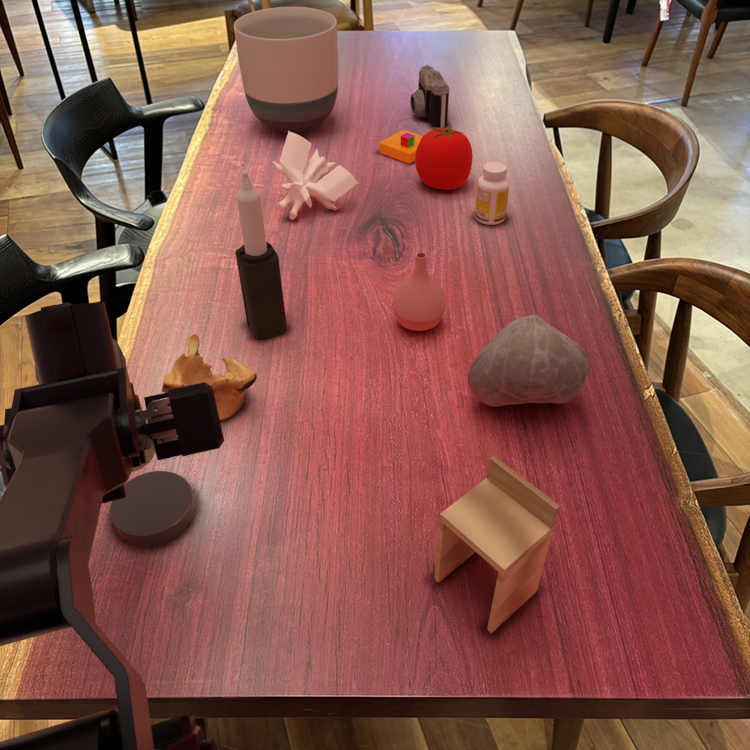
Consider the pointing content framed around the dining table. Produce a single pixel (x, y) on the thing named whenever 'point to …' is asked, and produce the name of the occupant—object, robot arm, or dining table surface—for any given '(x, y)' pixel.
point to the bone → (212, 379)
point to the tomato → (444, 158)
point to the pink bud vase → (419, 299)
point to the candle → (258, 268)
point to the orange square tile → (401, 146)
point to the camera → (431, 97)
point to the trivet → (153, 508)
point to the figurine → (310, 176)
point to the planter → (289, 66)
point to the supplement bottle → (492, 194)
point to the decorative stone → (528, 365)
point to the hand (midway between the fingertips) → (126, 434)
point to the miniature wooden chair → (499, 536)
